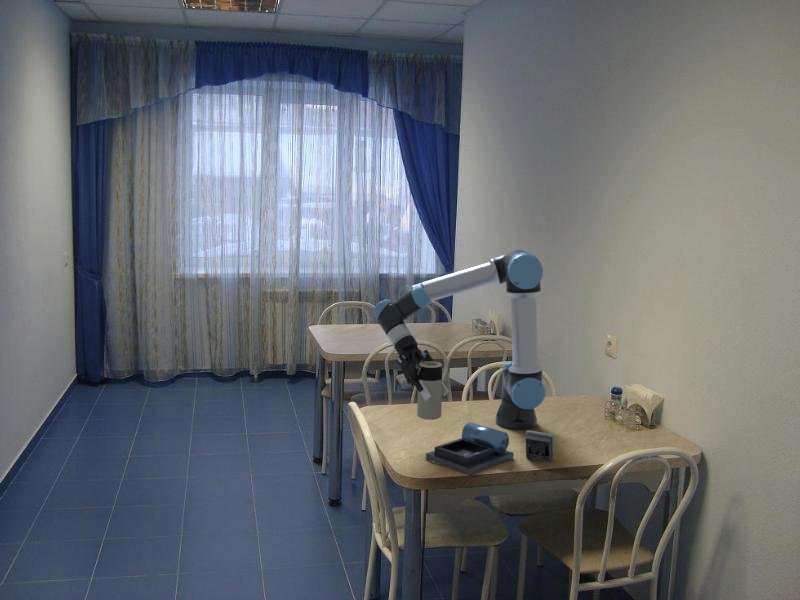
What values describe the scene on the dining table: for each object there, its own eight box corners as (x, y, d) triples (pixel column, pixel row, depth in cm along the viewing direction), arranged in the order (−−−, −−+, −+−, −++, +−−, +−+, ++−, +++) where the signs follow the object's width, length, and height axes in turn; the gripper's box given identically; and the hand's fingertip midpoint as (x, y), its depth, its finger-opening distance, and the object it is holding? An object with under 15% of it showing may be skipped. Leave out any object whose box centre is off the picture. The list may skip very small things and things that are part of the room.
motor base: (469, 444, 269) (470, 418, 268) (513, 458, 257) (514, 431, 255) (426, 459, 253) (427, 432, 252) (470, 475, 241) (471, 446, 240)
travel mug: (432, 421, 259) (433, 367, 256) (412, 417, 264) (413, 364, 261) (445, 416, 265) (447, 363, 263) (426, 411, 270) (427, 359, 267)
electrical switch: (555, 459, 258) (556, 432, 255) (551, 465, 253) (552, 438, 251) (526, 454, 261) (527, 428, 259) (522, 460, 257) (523, 433, 255)
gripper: (417, 343, 279) (451, 396, 271) (375, 351, 264) (409, 408, 256) (429, 330, 275) (464, 384, 266) (386, 338, 260) (422, 395, 251)
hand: (437, 396), depth 261 cm, fingers closed on travel mug, 8 cm apart
